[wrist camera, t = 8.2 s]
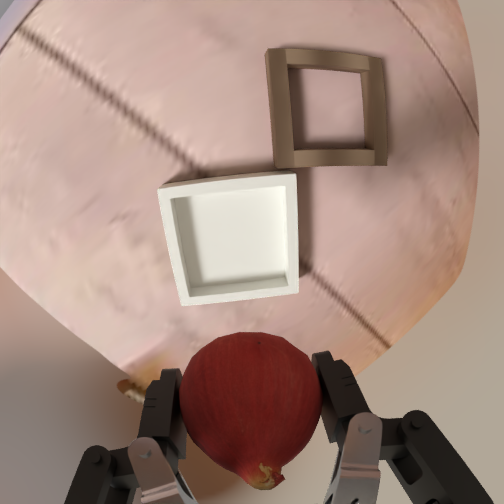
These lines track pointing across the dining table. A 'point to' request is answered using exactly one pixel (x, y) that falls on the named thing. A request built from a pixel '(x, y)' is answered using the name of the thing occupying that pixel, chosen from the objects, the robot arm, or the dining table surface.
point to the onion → (251, 404)
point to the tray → (232, 236)
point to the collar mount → (282, 117)
